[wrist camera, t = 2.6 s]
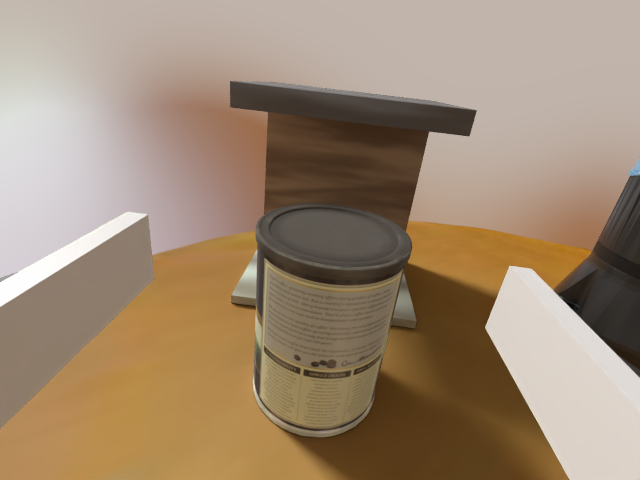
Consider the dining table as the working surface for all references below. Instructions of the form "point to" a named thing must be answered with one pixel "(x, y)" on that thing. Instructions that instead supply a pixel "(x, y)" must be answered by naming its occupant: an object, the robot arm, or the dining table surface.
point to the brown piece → (344, 155)
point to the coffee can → (323, 313)
